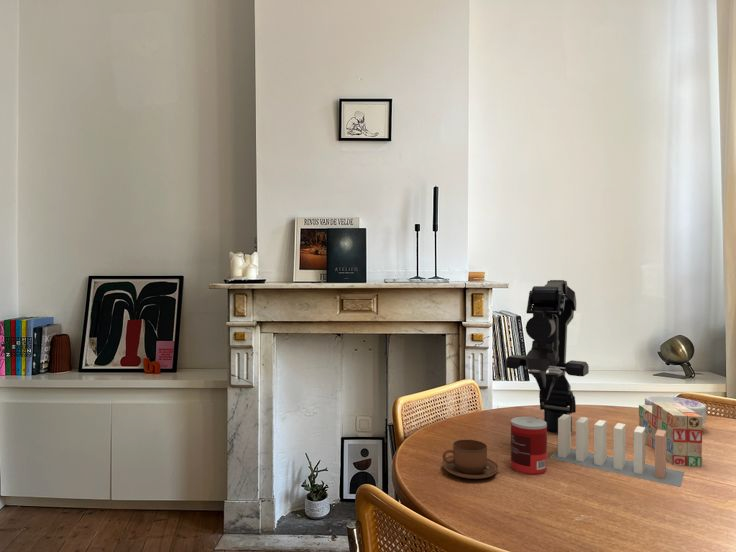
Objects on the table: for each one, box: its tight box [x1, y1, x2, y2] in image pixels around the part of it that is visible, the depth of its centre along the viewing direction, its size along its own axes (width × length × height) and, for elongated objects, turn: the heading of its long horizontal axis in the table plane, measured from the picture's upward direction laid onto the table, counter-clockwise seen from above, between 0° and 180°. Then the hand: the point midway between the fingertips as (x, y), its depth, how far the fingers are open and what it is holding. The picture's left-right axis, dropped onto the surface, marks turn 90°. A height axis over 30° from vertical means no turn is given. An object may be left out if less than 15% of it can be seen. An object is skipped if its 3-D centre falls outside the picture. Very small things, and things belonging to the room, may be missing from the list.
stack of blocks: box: [638, 402, 703, 467], centre depth 121 cm, size 21×6×12 cm, turn 169°
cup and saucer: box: [441, 439, 499, 480], centre depth 107 cm, size 12×12×6 cm
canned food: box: [510, 416, 548, 476], centre depth 108 cm, size 8×8×11 cm
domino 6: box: [654, 430, 667, 479], centre depth 105 cm, size 2×5×9 cm, turn 143°
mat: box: [549, 448, 685, 488], centre depth 110 cm, size 26×10×1 cm, turn 53°
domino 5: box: [633, 425, 646, 474], centre depth 107 cm, size 2×5×9 cm, turn 143°
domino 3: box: [593, 419, 608, 466], centre depth 112 cm, size 2×5×9 cm, turn 143°
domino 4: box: [613, 422, 627, 470], centre depth 110 cm, size 2×5×9 cm, turn 143°
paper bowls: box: [644, 395, 707, 425], centre depth 142 cm, size 15×15×8 cm
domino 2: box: [575, 416, 589, 462], centre depth 115 cm, size 2×5×9 cm, turn 143°
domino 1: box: [557, 414, 572, 458], centre depth 117 cm, size 2×5×9 cm, turn 143°
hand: (545, 399), depth 120 cm, fingers closed
